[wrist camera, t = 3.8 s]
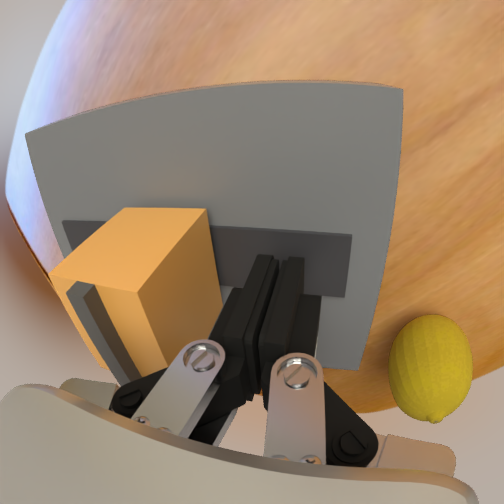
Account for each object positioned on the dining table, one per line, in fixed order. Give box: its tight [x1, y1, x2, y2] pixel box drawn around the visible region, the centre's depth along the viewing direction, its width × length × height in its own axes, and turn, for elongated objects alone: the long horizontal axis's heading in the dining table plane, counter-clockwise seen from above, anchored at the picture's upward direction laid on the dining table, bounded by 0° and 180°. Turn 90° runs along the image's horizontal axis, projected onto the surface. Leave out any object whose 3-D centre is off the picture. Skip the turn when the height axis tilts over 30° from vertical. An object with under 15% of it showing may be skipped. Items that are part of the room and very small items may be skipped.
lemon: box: [388, 314, 473, 424], centre depth 15 cm, size 6×6×8 cm
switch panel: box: [25, 80, 403, 370], centre depth 16 cm, size 18×14×5 cm
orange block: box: [48, 208, 223, 386], centre depth 11 cm, size 4×5×6 cm
